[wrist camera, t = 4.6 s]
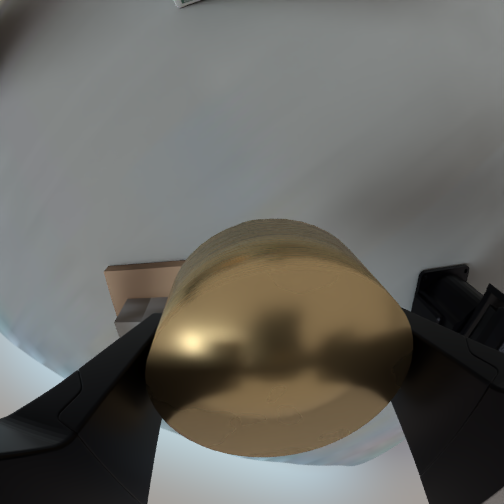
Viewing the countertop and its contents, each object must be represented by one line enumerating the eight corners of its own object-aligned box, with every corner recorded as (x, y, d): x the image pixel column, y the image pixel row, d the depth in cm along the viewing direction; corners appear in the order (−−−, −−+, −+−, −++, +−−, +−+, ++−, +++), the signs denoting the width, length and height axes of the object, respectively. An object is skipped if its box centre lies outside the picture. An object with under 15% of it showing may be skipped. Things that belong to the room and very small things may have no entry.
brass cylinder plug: (337, 191, 11) (442, 259, 5) (326, 322, 13) (376, 438, 7) (177, 197, 11) (111, 278, 5) (194, 331, 13) (177, 458, 7)
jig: (316, 249, 22) (334, 274, 18) (308, 381, 27) (318, 412, 23) (108, 266, 21) (86, 292, 17) (150, 390, 26) (142, 421, 22)
